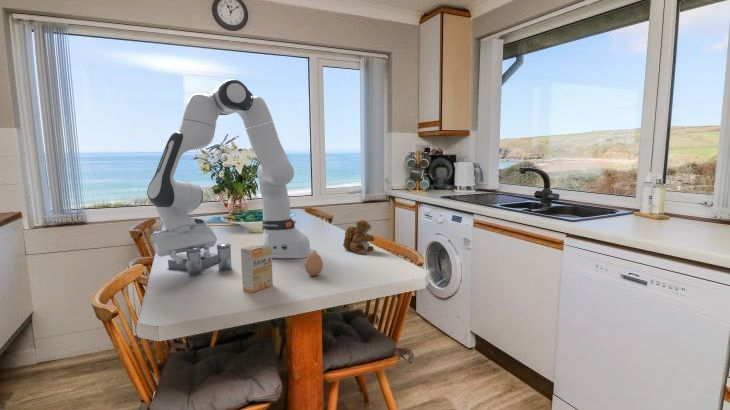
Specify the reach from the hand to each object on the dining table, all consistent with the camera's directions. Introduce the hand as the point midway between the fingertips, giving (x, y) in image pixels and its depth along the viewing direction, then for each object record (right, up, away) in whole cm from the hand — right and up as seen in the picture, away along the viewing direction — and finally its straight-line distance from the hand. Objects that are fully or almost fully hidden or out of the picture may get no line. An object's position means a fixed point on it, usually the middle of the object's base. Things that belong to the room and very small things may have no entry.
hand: (194, 259), depth 131 cm
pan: (-5, 0, +12) cm, 13 cm away
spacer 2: (+8, -4, +6) cm, 11 cm away
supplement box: (+26, -7, -14) cm, 30 cm away
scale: (-5, -4, +12) cm, 14 cm away
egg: (+41, -5, -3) cm, 42 cm away
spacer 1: (0, -5, +1) cm, 5 cm away
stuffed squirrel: (+55, -1, +30) cm, 63 cm away
